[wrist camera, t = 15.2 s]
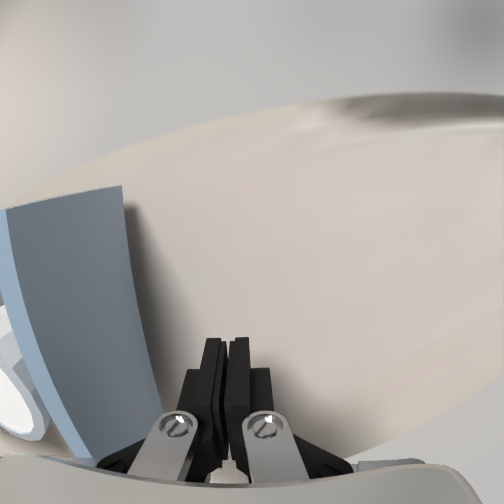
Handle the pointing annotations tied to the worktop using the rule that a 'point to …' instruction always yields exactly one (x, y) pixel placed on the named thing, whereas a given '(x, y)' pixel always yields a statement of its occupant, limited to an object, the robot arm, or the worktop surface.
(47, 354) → the tray
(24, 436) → the shot glass
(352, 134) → the worktop surface
